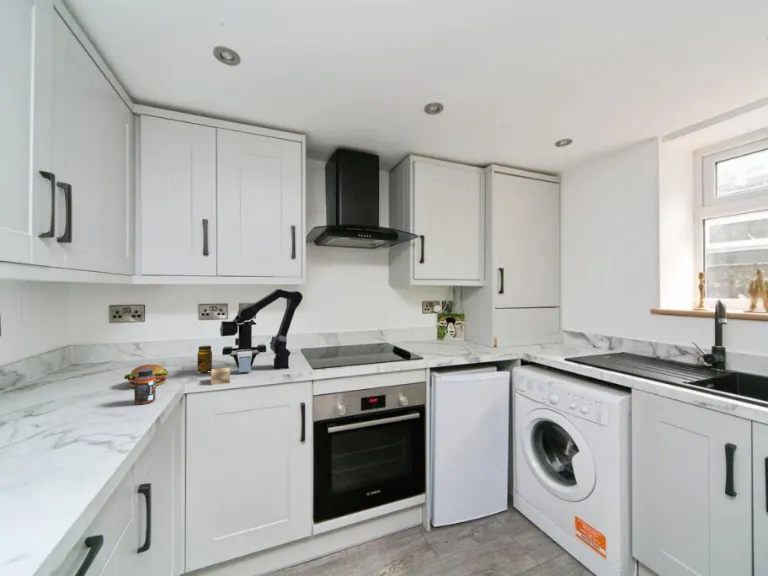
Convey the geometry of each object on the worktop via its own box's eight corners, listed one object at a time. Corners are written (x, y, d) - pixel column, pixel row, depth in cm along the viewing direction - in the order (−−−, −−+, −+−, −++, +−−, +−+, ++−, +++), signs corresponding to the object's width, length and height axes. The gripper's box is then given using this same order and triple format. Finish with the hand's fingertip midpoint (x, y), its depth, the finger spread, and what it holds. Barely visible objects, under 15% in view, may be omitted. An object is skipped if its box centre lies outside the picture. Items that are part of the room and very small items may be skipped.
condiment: (193, 373, 148) (193, 347, 148) (203, 368, 157) (203, 344, 157) (208, 373, 148) (209, 347, 148) (218, 368, 157) (218, 344, 157)
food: (155, 377, 141) (156, 359, 141) (174, 382, 135) (174, 363, 135) (118, 386, 129) (118, 366, 129) (136, 391, 122) (137, 371, 122)
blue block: (250, 368, 153) (250, 356, 153) (250, 371, 149) (250, 358, 149) (238, 369, 151) (239, 357, 151) (238, 372, 147) (238, 359, 147)
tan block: (229, 378, 141) (229, 367, 141) (229, 383, 135) (229, 371, 135) (211, 380, 138) (211, 369, 138) (210, 385, 132) (211, 373, 132)
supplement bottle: (157, 402, 112) (157, 370, 112) (135, 406, 108) (135, 373, 107) (153, 397, 116) (154, 366, 116) (133, 401, 112) (133, 369, 112)
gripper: (265, 331, 161) (264, 362, 161) (223, 333, 154) (223, 365, 154) (266, 334, 151) (266, 367, 151) (222, 336, 143) (222, 371, 144)
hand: (244, 367), depth 150 cm, fingers closed on blue block, 5 cm apart
